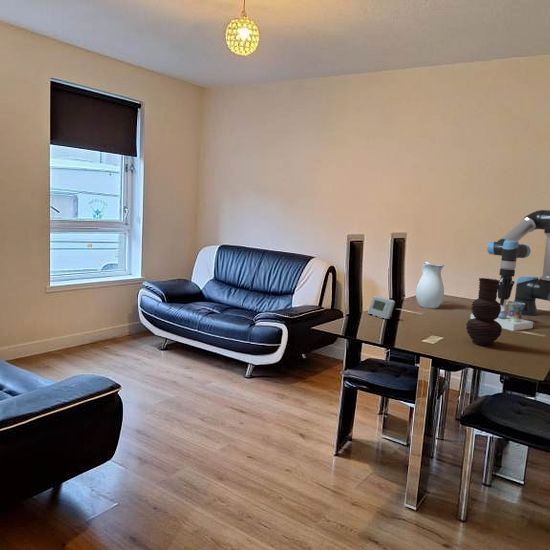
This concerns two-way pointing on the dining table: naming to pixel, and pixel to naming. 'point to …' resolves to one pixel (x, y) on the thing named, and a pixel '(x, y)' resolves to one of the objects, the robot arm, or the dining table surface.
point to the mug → (515, 309)
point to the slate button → (502, 315)
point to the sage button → (515, 320)
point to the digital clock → (381, 307)
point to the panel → (512, 323)
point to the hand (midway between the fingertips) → (502, 310)
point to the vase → (485, 314)
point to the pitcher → (430, 286)
